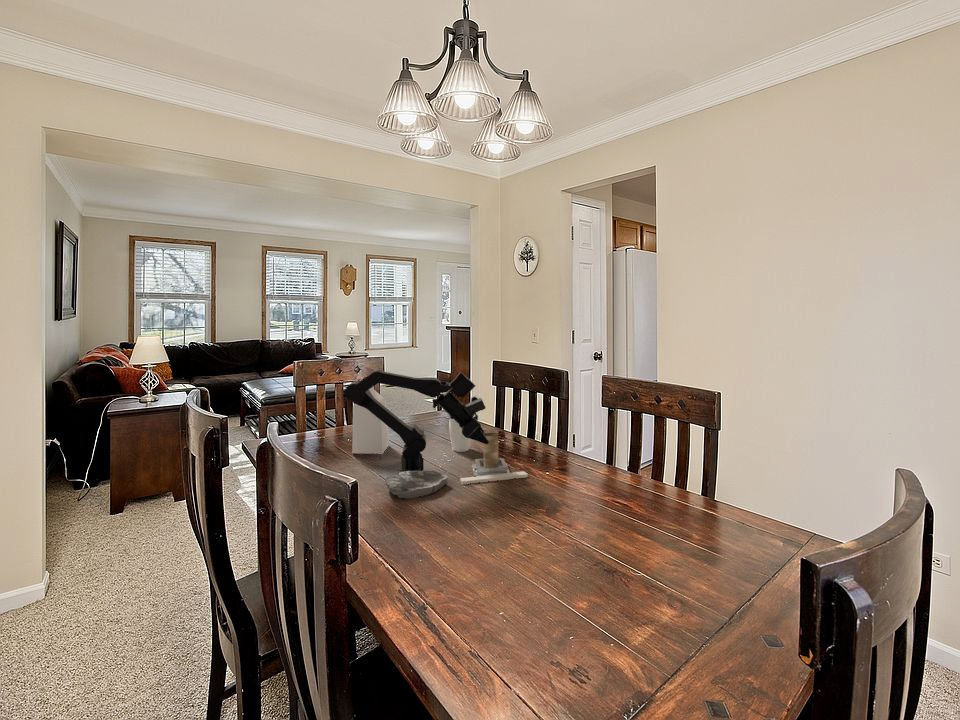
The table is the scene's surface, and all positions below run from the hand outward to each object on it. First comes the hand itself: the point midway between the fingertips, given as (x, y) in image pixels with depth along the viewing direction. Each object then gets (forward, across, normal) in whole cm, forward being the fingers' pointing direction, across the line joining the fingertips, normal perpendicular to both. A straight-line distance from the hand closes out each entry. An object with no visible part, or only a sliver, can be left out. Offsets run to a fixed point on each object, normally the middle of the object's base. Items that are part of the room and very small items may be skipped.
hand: (486, 439), depth 165 cm
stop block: (+8, 0, +6) cm, 10 cm away
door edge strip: (+9, -8, +6) cm, 14 cm away
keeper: (+9, 0, +6) cm, 11 cm away
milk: (-22, +28, +38) cm, 52 cm away
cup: (+2, +26, +13) cm, 29 cm away
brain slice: (-9, -14, +25) cm, 30 cm away
